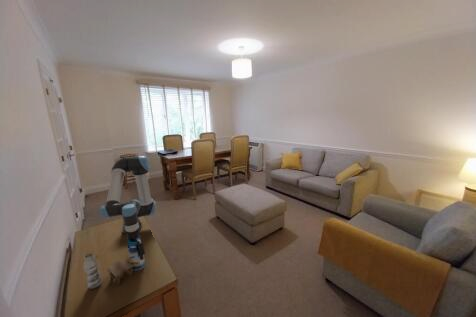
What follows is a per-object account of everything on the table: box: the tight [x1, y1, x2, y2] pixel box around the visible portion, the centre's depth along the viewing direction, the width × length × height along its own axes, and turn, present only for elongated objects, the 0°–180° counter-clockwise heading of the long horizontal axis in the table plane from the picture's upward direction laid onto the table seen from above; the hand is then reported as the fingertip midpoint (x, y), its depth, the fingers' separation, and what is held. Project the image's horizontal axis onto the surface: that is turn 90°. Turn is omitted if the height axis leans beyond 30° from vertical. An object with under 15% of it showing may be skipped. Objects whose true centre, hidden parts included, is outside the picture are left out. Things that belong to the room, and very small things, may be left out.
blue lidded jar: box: [128, 235, 147, 272], centre depth 125 cm, size 8×8×20 cm
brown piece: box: [106, 257, 134, 286], centre depth 118 cm, size 10×10×7 cm
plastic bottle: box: [83, 253, 103, 290], centre depth 111 cm, size 6×7×20 cm
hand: (137, 260), depth 126 cm, fingers closed on blue lidded jar, 8 cm apart
